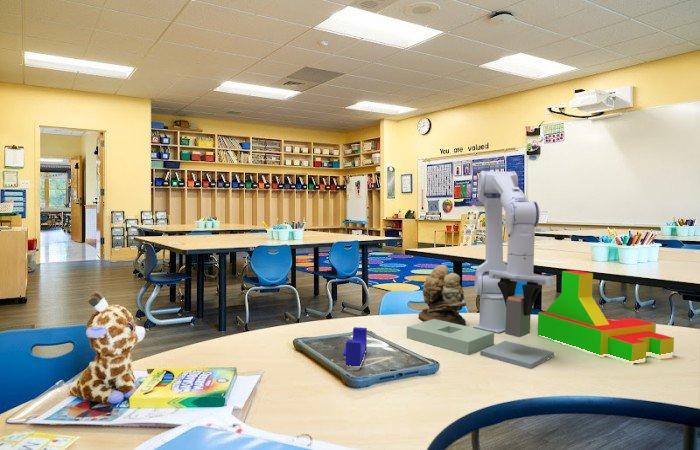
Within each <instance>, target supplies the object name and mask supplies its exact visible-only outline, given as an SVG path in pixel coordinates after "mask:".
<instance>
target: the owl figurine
mask: <svg viewBox="0 0 700 450" xmlns="http://www.w3.org/2000/svg"><path fill="white" fill-rule="evenodd" d="M448 268H449V267H448V266H447V265H446V264H440V265H436V266H435V267H434V268H433V270H432V271H431V273H430V274H429V275H427V276H426V279H425V282H423V285H422V286H423V287H422V288H423V289H422V295H423V296H422V297H423V301H424V303H425V304H427V307H428V308H425V309H422V310H421V312H419V313H418V316H419V317H418V319H419V320H420V321H422V322H425V321H429V320H432V319H437V320H441V321H445V322H450V323H454V324H459V325H463V326H467V323H466V319H465V318H463V316H462V315H461V314H460V312H459V311H461V310H462V309H463V308H464V307H466V306H467V302H465V301H464V299H465V294H464V290H463V287H462V285H460V281H461V276H460V275H459V274H457V273H455V272H450V273H449V269H448Z"/></svg>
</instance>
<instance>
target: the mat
mask: <svg viewBox="0 0 700 450" xmlns="http://www.w3.org/2000/svg"><path fill="white" fill-rule="evenodd" d="M479 351H480V352H479V355H480V356H481V357H486V358H490V359H494V360H497V361H501V362H503V363H508V364H512V365H515V366H520V367H523V368H526V369H533V368H535V367H537V366H538V364H539V365H541V364H542V363H541V362H543V361H545V360H546V361H548V360H549V359H548V358H550V357H552V356H554V357H555V352H554V351H550V350H546V349H541V348H537V347H534V346H533V347H532V346H530V345H529V346H528V345H524V344H520V343H516V342H513V341H509V340H508V341H507V340H504V341H502V342H499V343H496V344H494V345H491V346H489V347H486V348H484V349H481V350H479ZM552 358H553V357H552ZM547 359H548V360H547ZM550 359H551V358H550ZM546 361H545V362H546ZM540 363H541V364H540ZM543 363H544V362H543ZM536 365H537V366H536Z"/></svg>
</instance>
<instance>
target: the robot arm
mask: <svg viewBox="0 0 700 450" xmlns="http://www.w3.org/2000/svg"><path fill="white" fill-rule="evenodd" d="M518 177H519V176H518V174H517V173H516V171H515V170H511V171H496V170H494V171H489V170H487V171H486V170H481V171H480V172H479V173H478V177H477V198H478V201H479V202H480V203H482V204H483V207H484V211H485V214H484V218H485V219H484V220H485V223H484V225H485V230H484V231H485V233H484V234H485V239H484V241H485V261H484V262H483V263H481V264H480V265H479V266H477V267H476V270H475V275H474V291H475V293H476V294H477V295H478V296H479V323H477V324H474V325H472V326H473V327H472V328H476V329H481V330H485V331H489V332H494V333H496V334H500V333H501V332H505V328H506V299H508V297H510V296H513V295H516V288H517V283H525V284H522V285H521V287H522V289H521V290H522V295H524V309H523V310H524V315H525V316H528V315H532V314H531V313H532V310H533V306H534V303H535V301H536V299H537V297H538V295H539V293H540V291H541V290H542V288H543V286H545V287H553V286H554V276H549V275H542V274H537V273H534V266H535V265H534V264H535V262H534V261H535V238H536V236H535V234H536V227H538V226H539V221H540V218H541V217H540V213H541V212H540V206H539V204H538V201H536V200H535V201H532V200H531V201H529V199H528V197H527V196H526V194H525V193H524V192H523V190H522V189H520V188H519V178H518ZM503 210H504V211H505V213H504V214H505V215H504V218H505V225H506V226H505V228H506V229H505V232H506V234H507V255H506V256H507V257H506V258H507V259H506V263H505V262H504V253H503V252H504V250H503V249H504V248H503V247H504V241H503V239H504V237H503V234H504V233H503V232H504V231H503ZM485 272H486V273H485Z"/></svg>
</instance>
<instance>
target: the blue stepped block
mask: <svg viewBox="0 0 700 450" xmlns="http://www.w3.org/2000/svg"><path fill="white" fill-rule="evenodd" d="M367 331H368V328H367V327H360V326H359V327H358V326H357V327H356V326H354V327H353V329H352V339H347V340H346V341H345V343H344V344H345V345H344V350H343V354H342V356H346V360H345V366H346V365H348V366H349V365H351V366H360V364H361V362H362V360H363V357H364V354H365V351H366V352H367V349H368V348H367V346H368V345H367V340H368V339H367V337H368V332H367Z"/></svg>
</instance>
